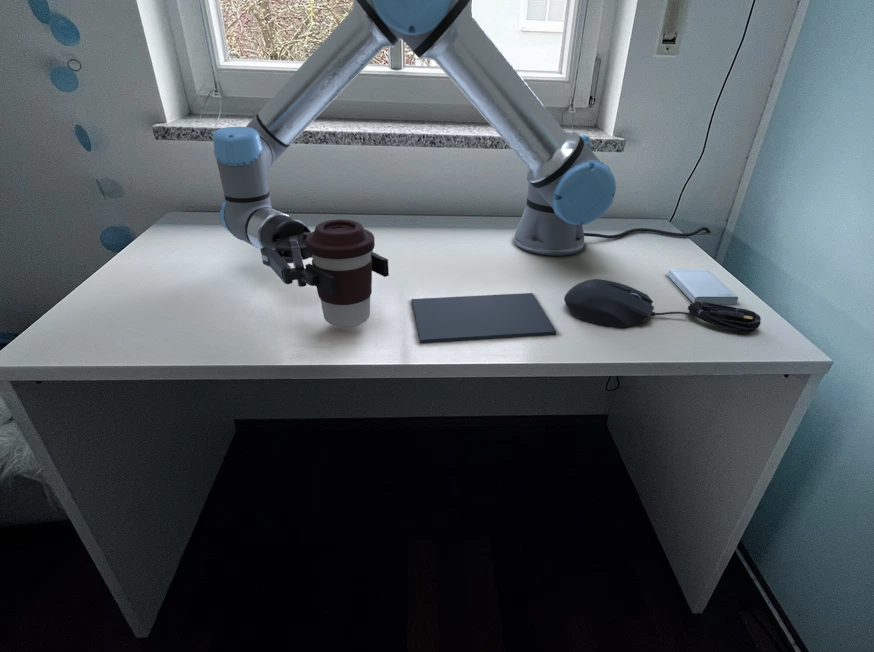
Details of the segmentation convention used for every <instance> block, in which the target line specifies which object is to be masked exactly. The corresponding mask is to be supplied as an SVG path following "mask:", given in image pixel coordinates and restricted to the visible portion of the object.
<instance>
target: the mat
mask: <svg viewBox="0 0 874 652" xmlns="http://www.w3.org/2000/svg"><path fill="white" fill-rule="evenodd" d="M411 305H412V310H413V315H414V320H415V325H416V330H417V334H418V339H419V343H420V344H428V343H429V344H430V343H443V342H444V343H445V342H459V341H474V340H490V339H491V340H492V339H506V338H521V337H523V338H524V337H539V336H552V335H553V336H554V335H557V330H556V328H555V327H554V324H553V323H552V322H551V320H550V319H549V317H548V316H547V314H546V312H545V311H544V309H543V307H542V306H541V304H540V302H539V301H538V299H537V298H536V296H535V295H534V293H533V292H526V293H525V292H524V293H523V292H522V293H506V294H505V293H504V294H503V293H502V294H486V295H485V294H484V295H464V296H445V297H428V298H427V297H426V298H425V297H424V298H423V297H422V298H412V299H411Z"/></svg>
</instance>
